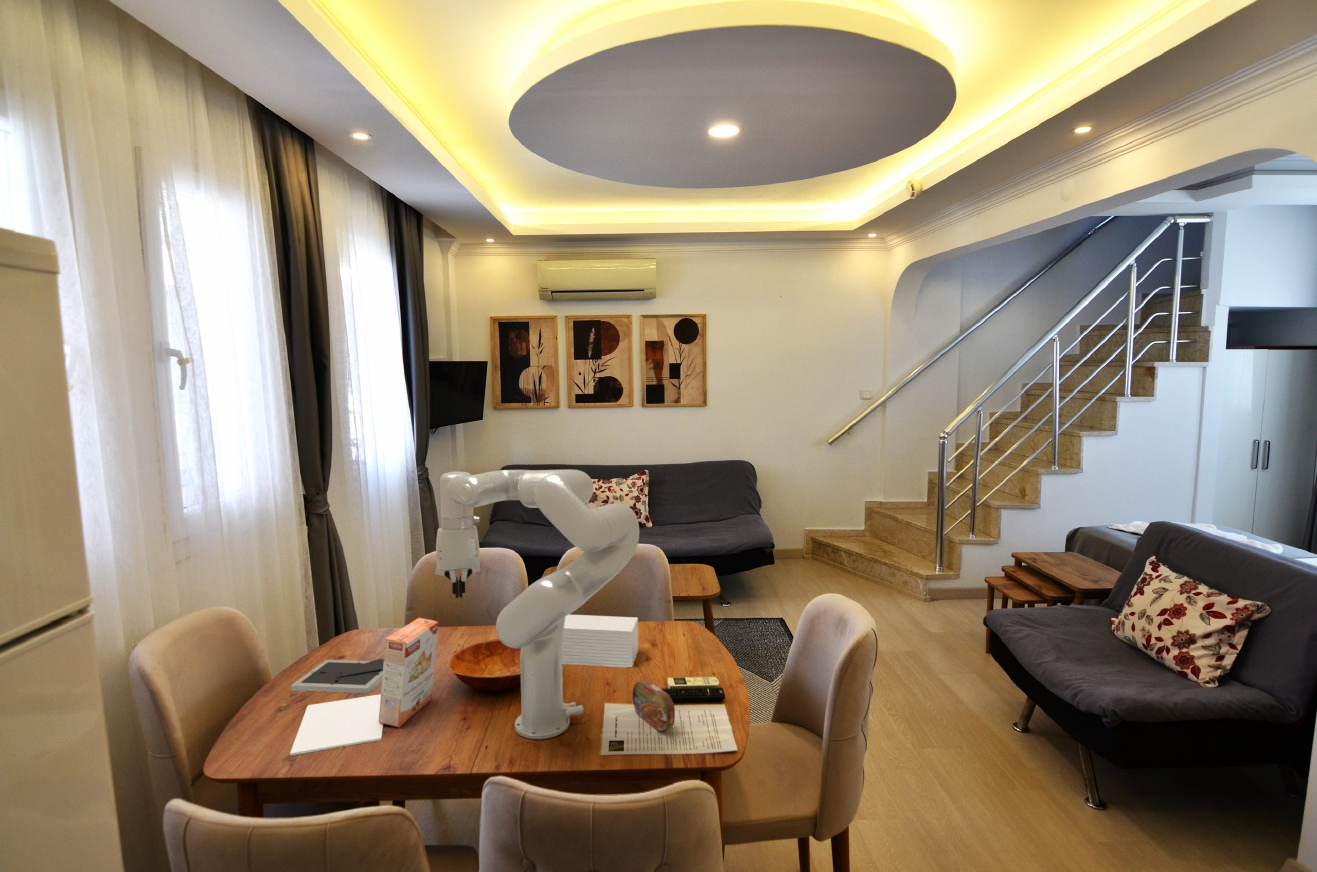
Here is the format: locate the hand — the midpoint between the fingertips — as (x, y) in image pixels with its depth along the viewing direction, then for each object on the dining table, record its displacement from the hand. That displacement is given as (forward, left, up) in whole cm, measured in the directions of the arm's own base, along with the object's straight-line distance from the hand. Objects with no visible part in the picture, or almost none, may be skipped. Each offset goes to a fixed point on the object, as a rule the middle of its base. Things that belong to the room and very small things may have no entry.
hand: (458, 596), depth 159 cm
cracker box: (+13, 0, -27) cm, 30 cm away
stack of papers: (-34, -17, -28) cm, 47 cm away
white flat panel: (+27, 0, -27) cm, 38 cm away
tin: (-42, +24, -28) cm, 56 cm away
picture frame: (+29, -25, -28) cm, 47 cm away
